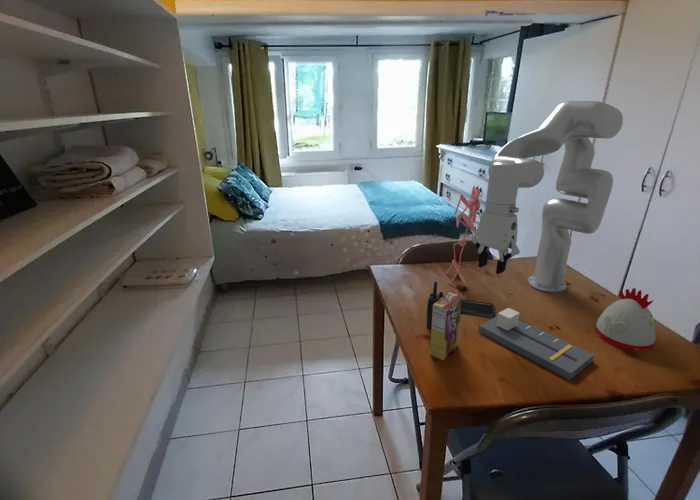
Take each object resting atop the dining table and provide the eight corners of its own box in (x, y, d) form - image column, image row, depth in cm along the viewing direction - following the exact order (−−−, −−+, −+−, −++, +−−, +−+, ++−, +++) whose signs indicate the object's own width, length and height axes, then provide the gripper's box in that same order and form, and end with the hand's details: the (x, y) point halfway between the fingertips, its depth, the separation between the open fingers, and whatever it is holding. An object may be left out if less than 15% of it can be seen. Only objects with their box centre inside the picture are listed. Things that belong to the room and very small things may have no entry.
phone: (446, 297, 131) (494, 303, 126) (446, 300, 131) (493, 306, 127) (445, 308, 123) (495, 315, 119) (444, 311, 124) (494, 318, 120)
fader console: (502, 318, 119) (503, 312, 119) (592, 361, 100) (594, 354, 99) (478, 331, 113) (479, 324, 112) (569, 380, 93) (571, 372, 92)
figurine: (449, 295, 133) (462, 195, 120) (441, 265, 157) (451, 179, 144) (495, 298, 132) (513, 197, 119) (480, 267, 156) (493, 180, 143)
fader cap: (506, 319, 114) (508, 307, 113) (517, 325, 111) (519, 312, 110) (496, 325, 111) (498, 313, 110) (507, 330, 109) (509, 318, 107)
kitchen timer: (632, 356, 102) (647, 306, 96) (584, 329, 114) (595, 283, 108) (664, 343, 107) (681, 295, 102) (615, 319, 119) (628, 274, 113)
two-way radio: (429, 331, 113) (433, 284, 108) (421, 323, 117) (424, 278, 111) (445, 327, 115) (450, 281, 109) (437, 319, 119) (441, 275, 113)
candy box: (444, 339, 109) (448, 291, 103) (458, 345, 106) (464, 296, 101) (428, 354, 103) (432, 303, 97) (442, 361, 100) (448, 309, 94)
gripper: (537, 212, 101) (526, 276, 107) (481, 199, 113) (474, 257, 120) (521, 217, 97) (510, 283, 103) (465, 203, 109) (458, 263, 116)
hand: (491, 268), depth 112 cm, fingers open, 5 cm apart
